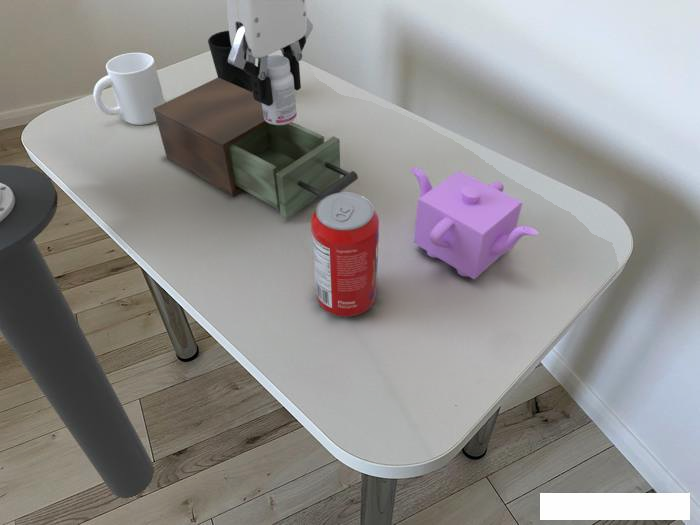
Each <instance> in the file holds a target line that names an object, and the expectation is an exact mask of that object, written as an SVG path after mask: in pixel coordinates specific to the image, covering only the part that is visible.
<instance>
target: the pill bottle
mask: <svg viewBox="0 0 700 525" xmlns="http://www.w3.org/2000/svg"><path fill="white" fill-rule="evenodd" d="M266 76H267V77H269V78H270V80H271V88H272V97H273V104H272V105H270V106H267V105H265V104H263V103H262V109H263V116H264V119H265V121H266V122H268V123H270V124H273V125H285V124H288V123H290V122H294V121H295V119H296V118H297V116H298V115H297V103H296V102H297V101H296V92H295V91H296V90H294V78H293V75H292V73H291V72H290V63H289V59H288V58H286V57H284V56H283V55H279V54H275V55H274V54H273V55H268V62H267V74H266Z"/></svg>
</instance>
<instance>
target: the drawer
mask: <svg viewBox="0 0 700 525" xmlns="http://www.w3.org/2000/svg"><path fill="white" fill-rule="evenodd" d="M340 143H341V142H340V138H339V137H336V136H331V137H330V138H329V139H327V140H326V141H325V136H324V135H322V134H320V133H318V132H315V131H313V130H312V129H309V128H306V127H304V126H302V125H300V124H298V123H297V122H296V123H295V122H294V121H292V122H290V123H288V124H285V125H273V124H270V123H268V124H266V125H265V126H263V127H261V128H259V129H258V130H256V131H254V132H253V133H251V134H249V135H247V136H246V137H244V138H242V139H240V140H239V141H237V142H235V143H233V144H232V145H230V146H228V152H229V157H230V163H231V168H232V174H233V179H234V185H236V186H238V187H239V188H241V189H243V190H242V191H245V192H246V193H248V194H250V195H251V196H254V197H255V198H257V199H259V200H260V201H263V202H264V203H266V204H268V205H270V206H271V207H273V208H275V209H277V210H280V217H281V218H283V219H285V220H289V219H290V218H291V217H293V216H294V215H295V214H297V213H298V212H300V211H301V210H302V209H304V208H305V207H306V206H308V205H309V204H310V203H312V202H313V201H315V200H316V199H317V198H319V200H320V201H321V200H322V199H324V198H325V197H327V196H329V195H332V194H335V193H341V192H342V191H344V190H345V189H346V188H348V187H349V186H350V185H352V184H353V183H354V182H356V181H357V180H358V178H359V176H358V173H357V172H356V171H354V170H351V171H348V170H347V171H346V170H345V169H343V168H341V144H340ZM341 176H342V177H341Z"/></svg>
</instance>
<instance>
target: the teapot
mask: <svg viewBox="0 0 700 525" xmlns="http://www.w3.org/2000/svg"><path fill="white" fill-rule="evenodd" d="M410 171H411V173H412V174H413V175H414V176H415V177H416V179H417V181H418V185H419V193H420V194H419V198H418V199H417V205H416V216H415V219H416V220H415V225H414V226H415V228H414V238H413V243H414V244H415V245H416V246H418V247H420V248H421V249H423V250H425V251H426V254H427V256H429V257H431V258H437V259H439V260H441V261H443V262H444V263H446V264H448V265H449V266H450V267H452V268H454V269H456V272H457V274H458V275H460V276H461V277H469V278H470V279H472V280H476V278H478V277H479V276H480V275H481V274H482V273H483V272H485V271H486V270H487V269H488V268H489V267H490V266H492V264H493V263H495V262H496V261H497V260H498V259H500V257H501V256H503V255H504V254H507V253H508V252H510V251H511V250H512V249H513V248H514V247H515V245H516V244H517V243H518V241H520V240H521V238H522V237H525V236H538V235H539V232H538V231H537V230H536V229H535V228H533V227H531V226H528V225H519V226H517V225H518V221H519V218H520V214H521V210H522V206H523V202H522V201H520V200H519V199H516V198H514V197H513V196H511V195H510V194H507V193H505V192H504V188H505V187H504V184H503V183H502V182H500V181H493V182H491V183H489V184H487V183H485V182H483V181H481V180H479V179H477V178H475V177H473V176H471V175H469V174H467V173H465V172H463V171H461V170H457V171H456V172H454V173H452V175H450V176H449V177H447V178H445V179H444V180H443V181H441V182H440V183H439V184H437V185H436V186H434V187H433V186H432V184H431V182H430V181H431V180H430V179H429V177H428V176H427V174H426V173H425V172H424V171H423V170H422V169H420V168H418V167H413V166H412V167H410Z"/></svg>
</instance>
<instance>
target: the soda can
mask: <svg viewBox="0 0 700 525" xmlns="http://www.w3.org/2000/svg"><path fill="white" fill-rule="evenodd" d="M310 226H311V227H310V228H311V229H310V230H311V231H310V232H311V242H312V243H311V244H312V256H313V257H312V258H313V270H314V284H315V296H316V300H317V302H318V304H319V305H320V307H321V308H322V309H323V310H325V311H326V312H327V313H329V314H331V315H334V316H338V317H355V316H357V315H361V314H363V313H365V312H366V311H368V310H369V309H370V308H371V307H372V306H373V305H374V303H375V301H376V298H377V293H378V292H377V291H378V267H379V266H378V264H379V261H378V260H379V238H380V220H379V215H378V213H377V212H376V211H375V209H374V206H373V204H372V202H371V201H370V200H369V199H368V198H367V197H366V196H363V195H362V194H359V193H354V192H349V191H343V192H342V191H341V192H340V193H335V194H332V195H329V196H327V197H325V198H324V199H322V200H320V201H319V202H318V204H317V206H316V209H315V211H314V212H313V214H312V216H311V220H310Z"/></svg>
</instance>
